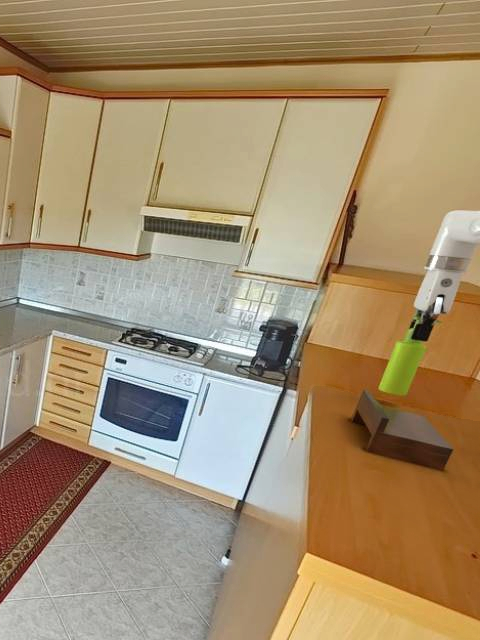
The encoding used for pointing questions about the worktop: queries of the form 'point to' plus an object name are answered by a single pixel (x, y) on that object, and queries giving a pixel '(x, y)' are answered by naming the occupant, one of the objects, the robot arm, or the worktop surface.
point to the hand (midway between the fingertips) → (416, 338)
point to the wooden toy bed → (401, 434)
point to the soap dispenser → (403, 364)
